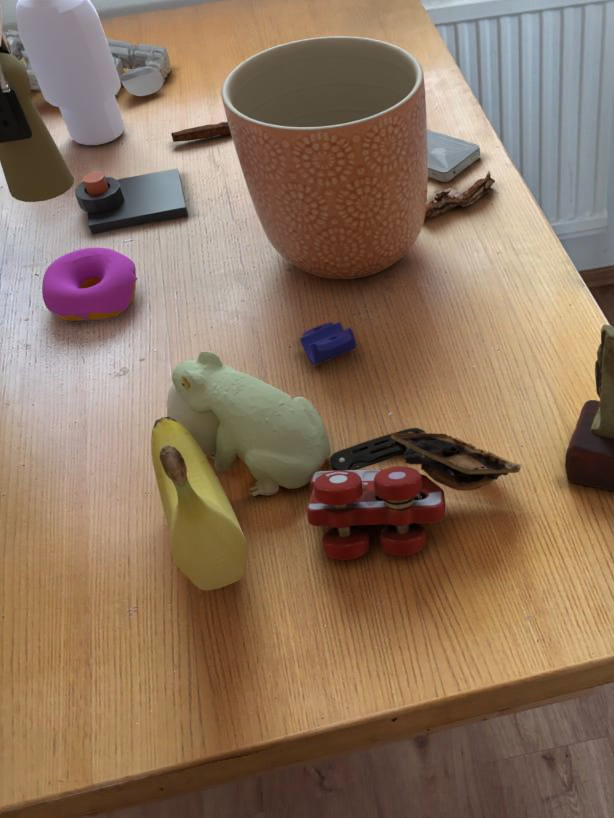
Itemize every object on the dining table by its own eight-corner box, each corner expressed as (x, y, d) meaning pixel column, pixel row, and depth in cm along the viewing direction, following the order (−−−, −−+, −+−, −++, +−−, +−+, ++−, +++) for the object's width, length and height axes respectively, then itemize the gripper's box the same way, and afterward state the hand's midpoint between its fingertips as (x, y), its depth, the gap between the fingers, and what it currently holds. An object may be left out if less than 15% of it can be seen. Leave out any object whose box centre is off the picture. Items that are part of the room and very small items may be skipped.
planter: (239, 234, 113) (194, 65, 97) (394, 187, 118) (374, 19, 102) (300, 324, 102) (260, 150, 86) (467, 268, 107) (458, 94, 91)
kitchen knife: (315, 96, 132) (323, 107, 129) (317, 109, 133) (325, 120, 130) (166, 121, 128) (171, 133, 125) (170, 134, 129) (174, 146, 126)
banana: (184, 557, 89) (130, 424, 84) (242, 537, 90) (192, 405, 85) (196, 639, 65) (122, 461, 60) (275, 611, 67) (209, 434, 61)
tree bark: (504, 189, 116) (500, 168, 115) (430, 227, 112) (425, 206, 110) (476, 186, 120) (471, 166, 119) (403, 223, 116) (398, 202, 114)
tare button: (88, 198, 114) (82, 184, 113) (87, 187, 116) (81, 173, 114) (109, 194, 115) (104, 180, 113) (108, 183, 116) (103, 170, 115)
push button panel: (85, 235, 114) (76, 212, 112) (82, 195, 120) (73, 172, 117) (188, 216, 116) (181, 192, 114) (180, 177, 122) (173, 154, 119)
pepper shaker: (71, 163, 90) (22, 38, 81) (77, 193, 87) (27, 67, 78) (7, 176, 89) (-49, 51, 80) (11, 207, 86) (-48, 80, 77)
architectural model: (175, 47, 138) (181, 82, 142) (6, 22, 137) (18, 58, 141) (154, 90, 132) (161, 125, 136) (-22, 64, 131) (-9, 100, 136)
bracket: (314, 348, 92) (324, 373, 94) (356, 331, 93) (365, 355, 94) (295, 335, 100) (304, 358, 101) (334, 319, 101) (343, 342, 102)
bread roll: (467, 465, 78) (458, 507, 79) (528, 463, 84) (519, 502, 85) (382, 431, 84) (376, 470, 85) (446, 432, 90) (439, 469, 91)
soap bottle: (114, 155, 125) (38, -57, 106) (47, 148, 127) (-40, -62, 107) (148, 119, 131) (82, -89, 111) (84, 113, 133) (8, -93, 113)
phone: (349, 143, 123) (350, 152, 124) (445, 173, 117) (446, 183, 118) (386, 117, 126) (388, 126, 127) (482, 145, 121) (483, 155, 122)
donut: (40, 329, 103) (22, 292, 100) (68, 275, 109) (52, 239, 106) (130, 328, 103) (115, 292, 99) (153, 275, 109) (140, 239, 105)
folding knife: (421, 422, 90) (432, 442, 88) (422, 432, 91) (433, 451, 90) (326, 451, 88) (335, 472, 87) (328, 461, 89) (337, 482, 88)
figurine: (213, 399, 95) (183, 316, 87) (350, 441, 91) (332, 357, 82) (154, 463, 90) (116, 381, 82) (296, 512, 85) (271, 429, 77)
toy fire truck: (442, 482, 76) (441, 432, 85) (292, 492, 76) (306, 441, 85) (447, 555, 80) (446, 500, 89) (305, 564, 80) (318, 508, 89)
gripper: (-133, -157, 73) (-24, 88, 88) (-160, -85, 63) (-32, 177, 78) (-35, -169, 74) (57, 76, 89) (-47, -99, 64) (59, 162, 79)
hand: (14, 121), depth 83 cm, fingers closed on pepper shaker, 5 cm apart
